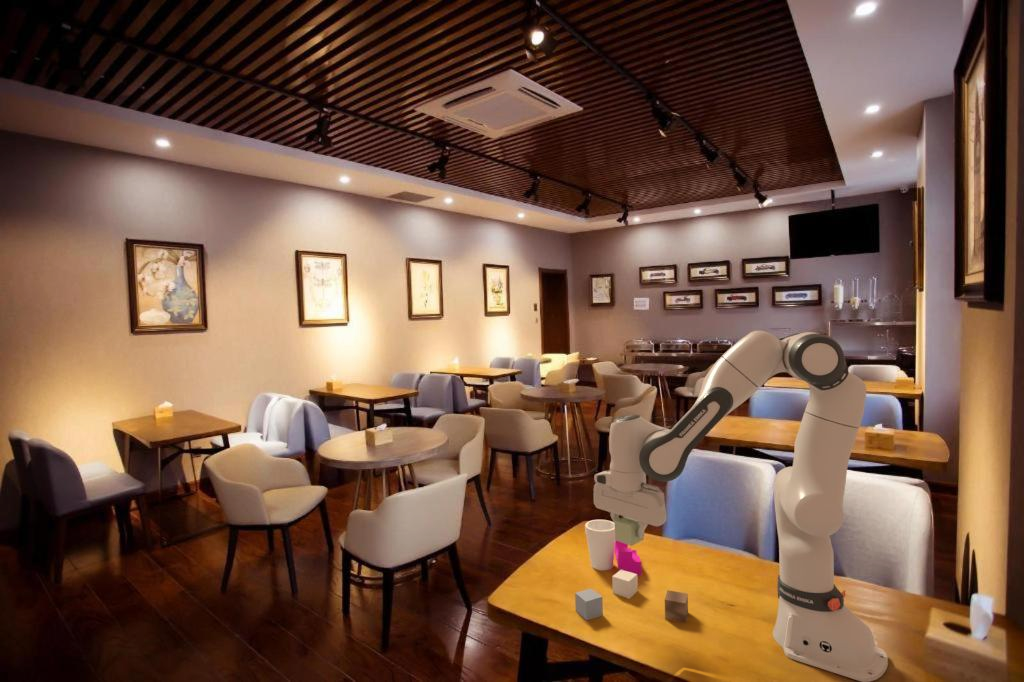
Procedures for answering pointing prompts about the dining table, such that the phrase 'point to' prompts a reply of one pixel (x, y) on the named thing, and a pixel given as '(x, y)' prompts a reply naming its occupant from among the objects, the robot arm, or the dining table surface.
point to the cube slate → (589, 604)
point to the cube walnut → (676, 606)
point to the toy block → (627, 558)
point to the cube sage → (627, 531)
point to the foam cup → (601, 543)
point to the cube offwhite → (625, 583)
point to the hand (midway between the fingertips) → (629, 533)
